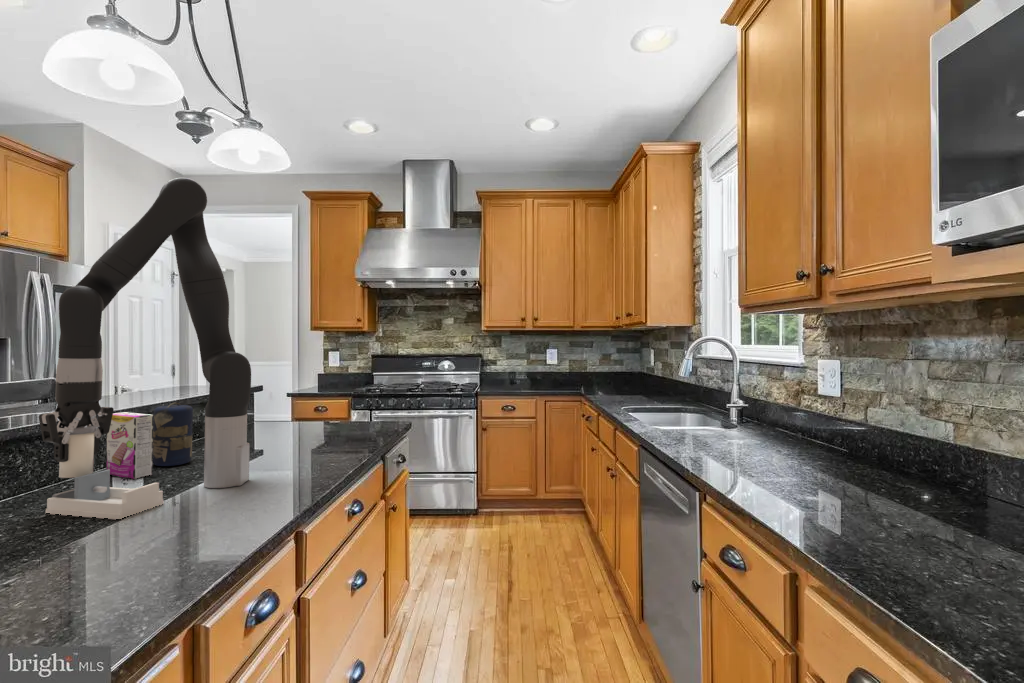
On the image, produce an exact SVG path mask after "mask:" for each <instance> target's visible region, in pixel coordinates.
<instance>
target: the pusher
mask: <svg viewBox="0 0 1024 683" xmlns="http://www.w3.org/2000/svg"><path fill="white" fill-rule="evenodd" d="M110 480H111V476H110V470H106V469H104V470H100V471H97V472H93V473H92V474H88V475H84V476H80V477H74V488H73V489H74V499H83V500H96V501H99V500H103V499H106V498H109V495H110V487H111V484H110V483H111V481H110Z"/></svg>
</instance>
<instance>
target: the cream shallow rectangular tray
mask: <svg viewBox="0 0 1024 683" xmlns="http://www.w3.org/2000/svg"><path fill="white" fill-rule="evenodd" d="M163 494H164V491H163V490H160V482H151V483H149V484H146V485H143V486H139V487H136V488H127V487H113V486H110V495H109V498H106V499H103V500H99V501H96V500H83V499H74V488H73V489H69V490H66V491H62V492H57V493H55V494H54V493H53V494H52V497H49V498H47V499H46V508H45V514H46V513H50V514H49V515H55V514H59V515H58V516H67V515H72V516H71V517H79V516H82V518H92V517H96V518H95V519H104V518H108V519H107V520H116V519H121V520H123V519H122V518H124V517H126V518H128V517H127V516H129V517H131V516H130V515H132V516H134V515H133V514H135V515H137V514H140V513H143V512H145V511H144V510H146V511H148V510H147V509H149V510H151V509H154V508H156V507H155V506H157V507H160V506H163V505H165V502H164V497H163V496H164V495H163ZM162 504H163V505H162ZM159 505H160V506H159ZM153 507H154V508H153ZM150 508H151V509H150ZM142 511H143V512H142ZM139 512H140V513H139ZM136 513H137V514H136ZM60 514H61V515H60ZM124 519H125V518H124Z"/></svg>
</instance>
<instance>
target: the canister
mask: <svg viewBox="0 0 1024 683" xmlns="http://www.w3.org/2000/svg"><path fill="white" fill-rule="evenodd" d="M193 408H194V407H192V406H191V405H186V404H181V403H178V402H172V403H170V404H169V405H160V406H157V407H155V408H154V410H153V451H152V465H155V466H157V467H173V466H180V465H184V464H185V465H186V464H187V463H189V462H191V461H192V458H193V422H194V421H193V420H194V418H193V415H194V414H193V413H194V412H193V411H194V410H193Z"/></svg>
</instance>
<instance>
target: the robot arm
mask: <svg viewBox="0 0 1024 683" xmlns="http://www.w3.org/2000/svg"><path fill="white" fill-rule="evenodd" d="M207 203H208V196H207V193H206V190H205V188H204V187H203V186H202V185H201V184H200V183H198V182H197V181H196V180H195V179H191V178H187V177H175V178H172V179H170V180H168V181H166V182H165V183H164V185H163V186H162V187H161V189H160V191H159V194H158V196H157V198H155V200H154V202H153V203H152V205H151V206H150V208H149V209H148V210H147V211H146V213H145V214H143V216H142V217H141V218H140V219H138V221H137V222H136V223H135V224H134V225H133V226H132V227H131V228H129V230H127V232H126V233H124V235H122V236H121V237H120V238H118V240H116V241H115V242H114V243H113V244H112V245H111V246H110V247H109V248H108V249H107V250H105V252H104V253H103V254H102V255H101V256H99V258H98V259H97V260H96V261H95V262H94V263H93V265H92V266H91V268H90V269H89V271H88V273H87V274H86V275H85V276H84V277H83V278H82V279H81V280H80V281H78V283H76V284H75V285H74V286H71V287H68V288H67V289H65V290H64V291H63V292H62V293H61V294H60V296H59V300H58V318H59V330H60V335H59V340H58V360H57V365H56V369H55V370H56V373H55V374H56V375H55V395H54V398H55V403H56V404H57V406H56V408H55V409H54V411H52V412H49V413H41V414H39V415H38V421H39V426H40V432H41V438H42V441H43V442H44V443H52V444H53V445H54V446H53V454H54V455H53V458H54V460H55V461H56V462H57V463H59V462H66V461H68V450H69V444H66V443H67V442H68V440H69V438H70V436H71V435H70V433H72V432H73V430H74V429H76V428H77V427H80V426H89V425H91V426H96V430H95V433H94V457H95V456H97V455H98V453H99V451H100V438H101V437H102V436H103V435H107V434H108V433H109V430H110V425H111V420H112V416H113V413H114V407H113V406H110V407H109V406H101V405H100V401H101V400H102V397H103V396H102V395H103V370H104V369H103V363H102V362H103V361H102V354H103V353H102V351H103V342H102V341H103V340H102V335H101V327H102V318H103V316H102V315H103V311H104V310H105V309H106V308H107V307H108V305H109V304H110V303H111V302H112V301H113V299H114V298H115V297H116V296H117V294H118V293H119V292H120V291H121V290H122V289H123V288H124V287H125V286H126V285H128V284H129V283H130V282H131V280H133V279H134V277H135V276H137V275H138V274H139V272H141V270H142V269H143V268H144V267H145V266H146V265H147V264H148V262H150V260H151V259H152V258H153V256H154V255H155V254H156V252H157V251H158V250H159V249H160V248H161V246H162V245H163V244H164V243H165V242H166V240H168V238H169V237H170V236H171V239H172V241H173V246H174V251H175V252H174V253H175V259H176V260H175V261H176V264H177V265H176V266H177V269H178V274H179V280H180V284H181V288H182V292H183V295H184V300H185V303H186V305H187V310H188V313H189V315H190V319H191V322H192V324H193V328H194V330H195V333H196V336H197V341H198V349H199V355H200V364H201V369H202V374H203V377H204V378H205V380H206V382H208V383H209V392H208V393H209V394H208V401H207V403H206V405H205V406H204V407H205V409H204V449H203V450H204V456H203V457H204V458H203V462H204V465H203V467H204V468H203V471H204V472H203V486H204V488H208V489H223V488H231V487H240V486H242V485H244V484H245V483H246V482H247V481H249V480H250V442H247V441H248V440H247V439H248V437H247V436H248V434H247V433H248V407H249V405H250V400H251V390H252V389H251V387H252V368H251V364H250V361H249V360H248V358H247V357H246V356H245V355H244V354H241V353H240V352H237V351H236V349H235V346H234V343H233V340H232V337H231V334H230V333H231V332H230V326H229V325H230V324H229V321H230V319H229V318H230V317H229V316H230V301H229V299H230V298H229V293H228V288H227V284H226V281H225V276H224V273H223V270H222V268H221V267H222V266H220V263H219V261H218V258H217V257H216V255H215V253H214V251H213V249H212V247H211V246H210V242H209V240H208V236H207V231H206V227H205V220H204V211H205V210H206V208H207V206H208V205H207ZM57 422H58V423H57ZM64 427H67V428H64ZM61 432H64V433H63V436H62V435H61Z"/></svg>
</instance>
